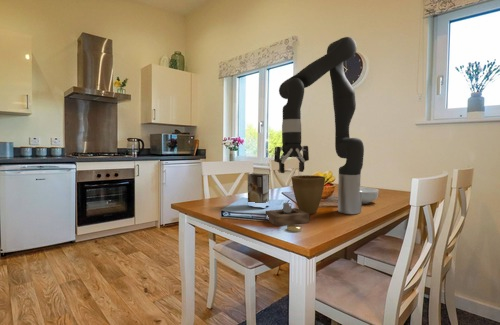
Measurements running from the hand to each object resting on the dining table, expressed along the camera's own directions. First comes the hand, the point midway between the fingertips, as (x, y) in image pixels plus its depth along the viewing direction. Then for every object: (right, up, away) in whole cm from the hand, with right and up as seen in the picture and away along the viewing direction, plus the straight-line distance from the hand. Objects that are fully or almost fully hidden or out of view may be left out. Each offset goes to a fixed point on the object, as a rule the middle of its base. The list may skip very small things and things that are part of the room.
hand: (291, 172), depth 109 cm
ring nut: (-1, -20, -11) cm, 23 cm away
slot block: (-2, -19, 0) cm, 19 cm away
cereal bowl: (+42, -17, +36) cm, 58 cm away
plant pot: (+9, -19, +15) cm, 26 cm away
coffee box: (-13, -18, +25) cm, 33 cm away
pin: (-2, -19, 0) cm, 19 cm away
